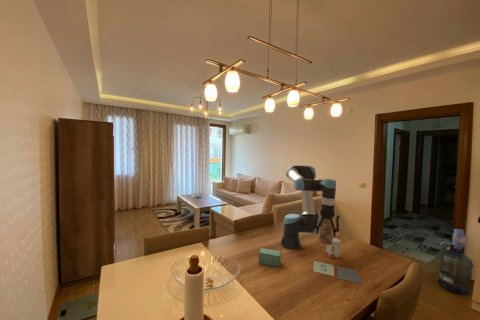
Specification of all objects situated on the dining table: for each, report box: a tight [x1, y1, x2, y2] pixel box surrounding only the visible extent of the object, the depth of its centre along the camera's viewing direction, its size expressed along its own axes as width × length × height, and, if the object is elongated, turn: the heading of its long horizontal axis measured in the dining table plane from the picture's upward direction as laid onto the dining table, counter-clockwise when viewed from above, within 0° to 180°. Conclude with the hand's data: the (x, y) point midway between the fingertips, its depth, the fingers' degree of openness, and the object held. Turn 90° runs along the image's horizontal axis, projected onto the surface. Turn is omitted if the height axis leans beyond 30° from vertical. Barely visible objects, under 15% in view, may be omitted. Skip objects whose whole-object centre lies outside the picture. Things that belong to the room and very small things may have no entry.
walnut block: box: [318, 223, 333, 245], centre depth 132 cm, size 7×7×10 cm
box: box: [258, 247, 282, 268], centre depth 136 cm, size 7×14×8 cm, turn 76°
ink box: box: [325, 237, 342, 259], centre depth 149 cm, size 9×5×12 cm, turn 108°
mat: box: [336, 266, 362, 285], centre depth 127 cm, size 12×14×1 cm
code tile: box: [312, 260, 335, 277], centre depth 133 cm, size 12×13×1 cm
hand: (325, 240), depth 132 cm, fingers closed on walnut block, 7 cm apart
